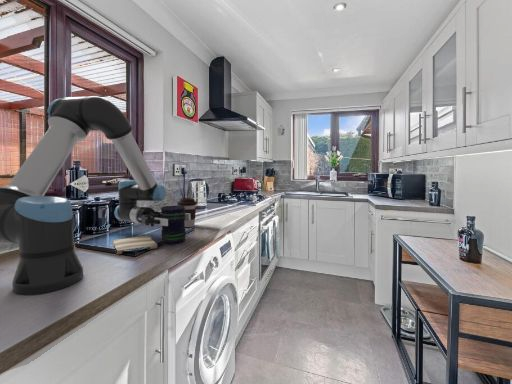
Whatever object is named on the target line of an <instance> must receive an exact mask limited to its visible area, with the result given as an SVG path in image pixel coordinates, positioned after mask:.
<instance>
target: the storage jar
mask: <svg viewBox="0 0 512 384" xmlns="http://www.w3.org/2000/svg"><path fill="white" fill-rule="evenodd" d="M160 210H161V211H160V212H161V218H163V219H168V226H162V225H161V244H162V245H164V246H178V245H181V244H184V243H185V242H186V236H187V235H186V234H187V233H186V228H185V207H184V206H179V205H167V206H162V207H160Z"/></svg>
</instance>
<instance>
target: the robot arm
mask: <svg viewBox="0 0 512 384" xmlns="http://www.w3.org/2000/svg"><path fill="white" fill-rule="evenodd" d="M47 114H48V115H47V118H48V119H47V123H48V126H49V127H48V128H47V130H46V132H45V133H44V134H43V136H42V137H41V139H40V140H39V141H38V143H37V144H36V145H35V147H34V149H32V151H31V152H30V154H29V155H28V157H27V158H26V159H25V161H24V162H23V164H22V165H21V167H19V169H18V171H17V172H16V173H15V174H14V176H13V178H12V179H11V180H10V182H9V183H8V184H7V185H4V186H0V243H9V244H18V253H19V255H18V256H19V261H18V263H17V267H16V270H15V273H14V275H13V279H12V283H11V285H12V292H13V293H14V294H16V295H17V294H18V295H27V296H28V295H29V296H31V295H40V294H46V293H51V292H54V291H58V290H62V289H64V288H67V287H69V286H72V285H74V284H76V283H77V282H79V281H81V280H82V279H83V277H84V268H83V267H84V266H83V265H82V263H81V262H80V259H79V257H78V255H77V253H76V250H75V233H74V231H75V230H74V212H73V207H72V203H71V202H70V201H69V200H68V199H66V198H64V197H60V196H48V195H47V196H46V195H45V194H46V193H47V191H48V189H49V188H50V186H51V185H52V183H53V181H54V180H55V178H56V177H57V175H58V174H59V172H60V170H61V169H62V167H63V166H64V164H65V162H66V161H67V159H68V157H69V156H70V154H71V152H72V151H73V149H74V147H75V146H76V145H77V143H78V142H82V141H85V140H86V138H87V136H88V135H89V134H90V132H91V131H100V132H102V133H103V135H104V136H105V137H106V139H107V140H109V141H111V142H112V144H113V146H114V148H115V149H116V151H117V153H118V154H119V155H120V158H121V159H122V161H123V162H124V164H125V166H126V167H127V170H128V171H129V173H130V175H131V176H132V179H122V180H119V181H118V188H117V189H118V190H117V191H118V205H117V206H116V207H115V208H114V212H113V213H114V217H115V218H116V219H117V220H118V221H123V222H130V223H136V224H138V225H140V224H143V225H146V226H149V225H150V227H154V226H161V227H162V226H168V219H163V218H161V211H158V210H156V211H155V210H154V209H153V208H152V207H147V206H140V205H139V206H138V205H137V204H138V202H139V201H140V202H162V201H165V198H166V197H167V188H166V187H165V186H164V185H163V184H158V183H157V181H156V180H155V177H154V176H153V173H152V171H151V170H150V167H149V165H148V163H147V162H146V160H145V158H144V155H143V154H142V153H143V152H142V151H141V150H140V148H139V145H138V144H137V142H136V140H135V137H134V135H133V127H132V125H131V123H130V121H129V119H128V118H127V117H126V115H125V114H124V113H123V112H122V110H121V109H120V108H118V106H116V105H115V104H114V103H112V102H111V101H110V100H109V99H106V98H105V97H101V96H97V95H90V96H73V97H72V96H65V97H61V98H57V99H55V100H53V101H51V102H50V104H49V105H48V107H47ZM185 220H191V217H190V214H189V213H185Z"/></svg>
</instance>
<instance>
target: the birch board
mask: <svg viewBox="0 0 512 384" xmlns="http://www.w3.org/2000/svg"><path fill="white" fill-rule="evenodd" d="M113 244H114V246H115V248H116V250H117V253H116V255H123V254H122V251H124V250H130V249H136V248H142V247H150V249H149V250H155V249H158V244H157V242H156V241H155V240H154V239H153V238H152V237H151V236H150V235H142V236H141V235H140V236H134V237H132V236H131V237H126V238H118V239H112V245H113ZM114 246H113V247H114ZM115 248H114V249H115ZM116 250H115V251H116Z"/></svg>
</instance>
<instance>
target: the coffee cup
mask: <svg viewBox="0 0 512 384" xmlns="http://www.w3.org/2000/svg"><path fill="white" fill-rule="evenodd" d="M197 203H198V202H197V201H196V200H195V199H194V198H192V197H184V198H180V199H179V201H177V206H184V207H185V213H189V214H190V217H191V220H185V227H189V228H193V227H195V222H196V221H195V220H196V214H197V213H196V210H197V207H196V206H197Z"/></svg>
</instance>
